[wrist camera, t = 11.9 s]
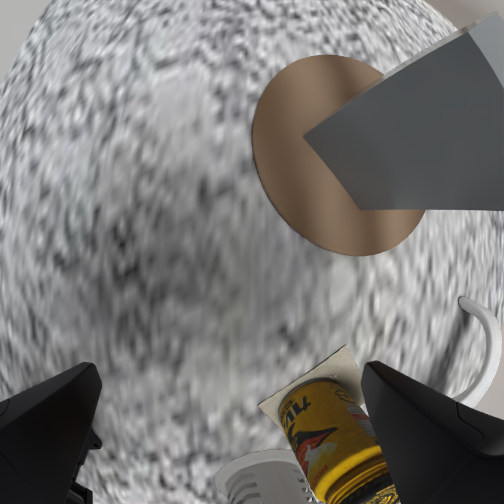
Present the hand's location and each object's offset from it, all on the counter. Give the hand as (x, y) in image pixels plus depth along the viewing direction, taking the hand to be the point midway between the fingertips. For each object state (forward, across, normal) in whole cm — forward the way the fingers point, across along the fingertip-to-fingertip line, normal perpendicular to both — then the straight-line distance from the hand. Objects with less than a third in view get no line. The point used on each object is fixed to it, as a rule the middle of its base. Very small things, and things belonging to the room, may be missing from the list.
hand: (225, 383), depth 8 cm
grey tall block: (+13, -9, -8) cm, 18 cm away
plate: (+13, -9, -8) cm, 18 cm away
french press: (+8, -2, +22) cm, 24 cm away
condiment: (+11, -7, +12) cm, 17 cm away
